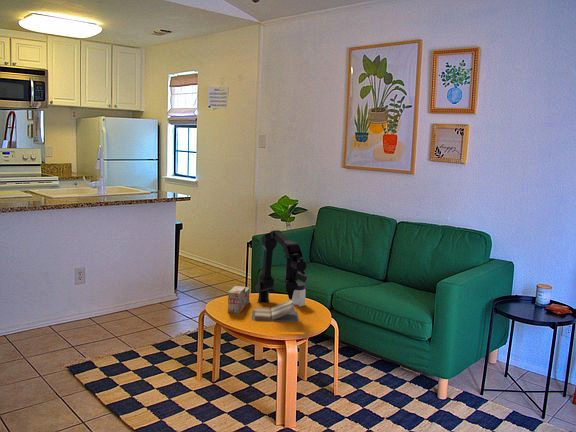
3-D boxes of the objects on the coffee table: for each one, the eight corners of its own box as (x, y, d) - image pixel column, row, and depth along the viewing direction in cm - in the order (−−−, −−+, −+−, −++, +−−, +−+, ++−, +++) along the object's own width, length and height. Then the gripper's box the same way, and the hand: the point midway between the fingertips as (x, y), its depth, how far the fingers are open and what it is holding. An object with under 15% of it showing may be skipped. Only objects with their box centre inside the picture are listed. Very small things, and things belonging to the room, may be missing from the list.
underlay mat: (252, 312, 293) (252, 310, 293) (297, 313, 294) (297, 311, 294) (251, 322, 277) (251, 320, 277) (299, 323, 278) (299, 321, 278)
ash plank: (272, 311, 292) (271, 307, 292) (293, 302, 292) (292, 299, 292) (273, 319, 278) (271, 316, 278) (294, 310, 278) (293, 307, 278)
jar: (288, 302, 312) (289, 281, 310) (302, 301, 314) (303, 281, 312) (292, 307, 303) (292, 286, 302) (306, 306, 305) (307, 285, 304)
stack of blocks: (238, 302, 309) (239, 281, 307) (249, 303, 308) (250, 282, 306) (227, 314, 288) (228, 291, 286) (239, 315, 287) (239, 292, 285)
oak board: (255, 310, 292) (255, 307, 291) (270, 311, 292) (270, 307, 292) (254, 319, 278) (254, 316, 277) (270, 320, 278) (270, 316, 278)
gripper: (308, 272, 273) (307, 302, 275) (305, 263, 291) (304, 292, 294) (286, 271, 272) (284, 302, 275) (284, 263, 291) (283, 291, 293)
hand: (290, 296), depth 284 cm, fingers open, 9 cm apart
